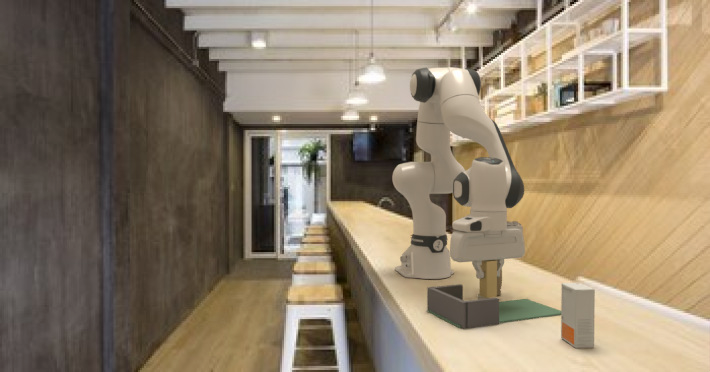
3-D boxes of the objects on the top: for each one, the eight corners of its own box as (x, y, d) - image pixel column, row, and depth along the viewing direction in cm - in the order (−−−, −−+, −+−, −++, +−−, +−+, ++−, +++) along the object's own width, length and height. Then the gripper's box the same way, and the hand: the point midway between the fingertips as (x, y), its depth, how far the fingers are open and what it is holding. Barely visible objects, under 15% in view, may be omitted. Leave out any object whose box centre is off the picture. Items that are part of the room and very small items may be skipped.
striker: (475, 307, 129) (476, 258, 129) (485, 306, 130) (486, 257, 130) (490, 314, 123) (490, 262, 123) (500, 312, 124) (500, 261, 124)
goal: (427, 310, 130) (427, 287, 130) (460, 306, 133) (460, 284, 133) (463, 329, 114) (463, 302, 114) (499, 324, 118) (499, 298, 118)
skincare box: (560, 338, 108) (560, 282, 107) (579, 338, 108) (579, 282, 108) (574, 348, 102) (575, 289, 101) (595, 348, 102) (595, 288, 102)
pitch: (427, 311, 129) (427, 309, 129) (525, 300, 140) (525, 298, 140) (459, 328, 115) (459, 326, 115) (566, 314, 126) (566, 312, 126)
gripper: (514, 219, 133) (513, 272, 133) (446, 222, 125) (446, 278, 126) (530, 221, 127) (530, 276, 127) (460, 225, 119) (460, 283, 120)
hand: (488, 277), depth 126 cm, fingers closed on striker, 3 cm apart
